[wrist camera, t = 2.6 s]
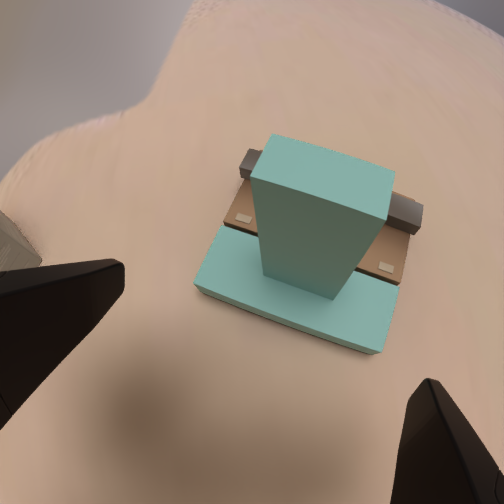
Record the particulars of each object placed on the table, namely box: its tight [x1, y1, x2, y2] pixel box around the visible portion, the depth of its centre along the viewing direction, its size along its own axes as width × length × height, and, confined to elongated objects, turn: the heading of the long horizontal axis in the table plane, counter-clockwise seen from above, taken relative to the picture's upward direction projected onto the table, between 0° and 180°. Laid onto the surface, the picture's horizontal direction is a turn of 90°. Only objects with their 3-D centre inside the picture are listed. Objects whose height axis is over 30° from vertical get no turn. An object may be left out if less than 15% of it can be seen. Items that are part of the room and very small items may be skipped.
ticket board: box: [223, 148, 423, 286], centre depth 20 cm, size 6×13×4 cm, turn 67°
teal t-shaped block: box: [193, 134, 399, 355], centre depth 14 cm, size 4×12×12 cm, turn 67°
